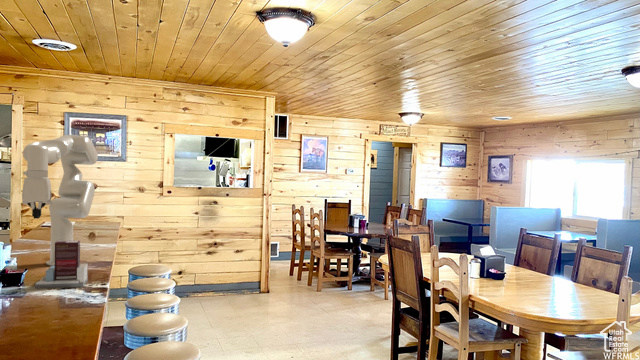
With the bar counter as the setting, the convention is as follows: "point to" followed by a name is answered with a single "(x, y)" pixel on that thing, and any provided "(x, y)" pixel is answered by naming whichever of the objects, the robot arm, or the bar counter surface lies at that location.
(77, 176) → the robot arm
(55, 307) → the bar counter surface
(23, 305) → the bar counter surface
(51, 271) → the sliding jaw
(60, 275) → the supplement box
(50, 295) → the bar counter surface
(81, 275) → the vise bed
